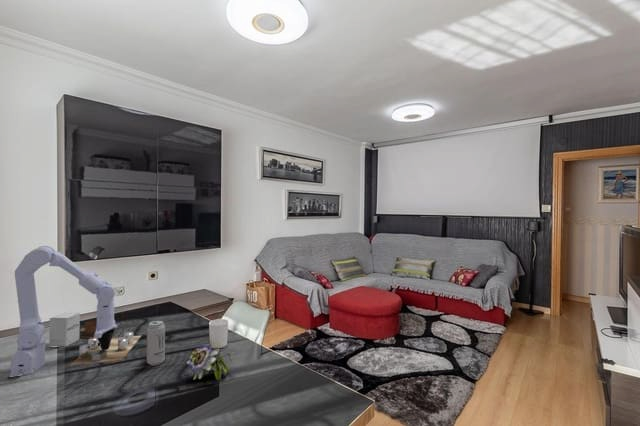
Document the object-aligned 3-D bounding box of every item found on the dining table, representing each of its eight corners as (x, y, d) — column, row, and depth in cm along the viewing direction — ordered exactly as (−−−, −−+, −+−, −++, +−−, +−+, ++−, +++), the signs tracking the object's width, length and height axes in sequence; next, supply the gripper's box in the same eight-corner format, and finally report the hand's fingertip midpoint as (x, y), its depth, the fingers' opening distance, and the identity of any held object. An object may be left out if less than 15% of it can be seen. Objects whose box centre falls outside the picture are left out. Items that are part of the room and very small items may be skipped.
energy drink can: (157, 367, 111) (157, 326, 112) (142, 365, 113) (143, 325, 113) (168, 359, 117) (168, 320, 117) (154, 358, 119) (155, 319, 119)
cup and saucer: (83, 343, 133) (83, 329, 133) (74, 336, 140) (75, 323, 140) (114, 334, 142) (114, 321, 142) (105, 328, 149) (105, 316, 149)
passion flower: (196, 397, 104) (176, 362, 106) (223, 374, 114) (204, 342, 116) (214, 386, 97) (193, 349, 99) (241, 363, 108) (221, 330, 110)
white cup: (231, 341, 134) (231, 319, 134) (223, 349, 126) (223, 325, 126) (213, 341, 135) (214, 318, 135) (205, 348, 127) (205, 324, 127)
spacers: (123, 353, 120) (123, 343, 120) (77, 358, 116) (77, 348, 116) (137, 336, 137) (137, 327, 137) (97, 340, 133) (97, 331, 133)
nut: (109, 355, 119) (109, 349, 119) (104, 360, 115) (104, 354, 115) (93, 356, 118) (93, 350, 118) (88, 362, 113) (88, 355, 114)
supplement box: (65, 348, 127) (66, 317, 127) (48, 348, 127) (48, 317, 127) (80, 340, 135) (80, 312, 135) (63, 340, 135) (64, 312, 135)
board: (122, 361, 116) (122, 359, 116) (69, 367, 111) (69, 365, 111) (141, 337, 139) (141, 335, 139) (98, 341, 134) (98, 339, 134)
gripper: (109, 320, 116) (109, 356, 116) (123, 309, 130) (123, 340, 130) (88, 322, 114) (87, 358, 114) (104, 310, 128) (104, 342, 128)
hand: (105, 349), depth 122 cm, fingers closed
